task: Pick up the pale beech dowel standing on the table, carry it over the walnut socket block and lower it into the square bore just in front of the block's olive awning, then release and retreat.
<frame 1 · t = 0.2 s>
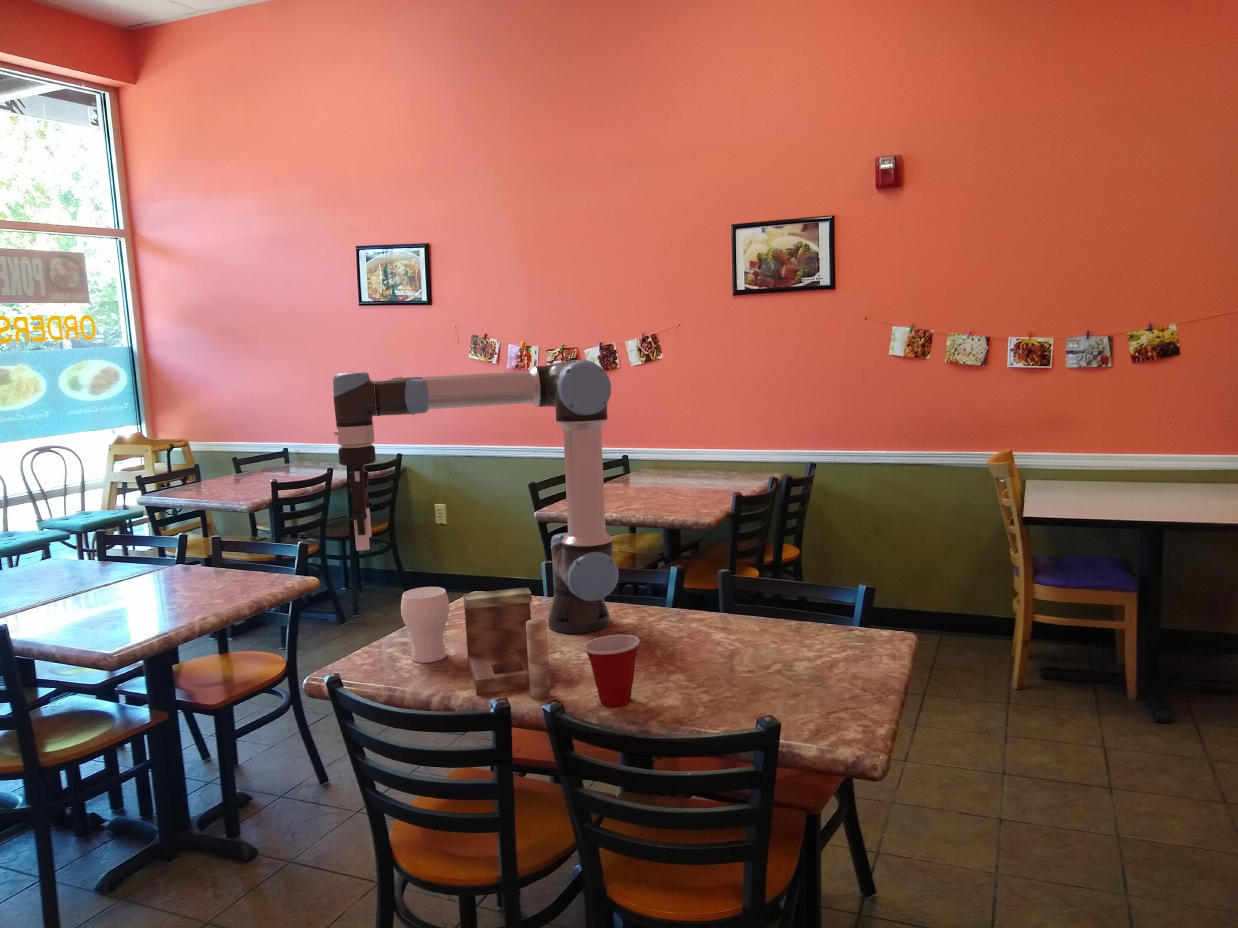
hand: (364, 543, 198), 28 cm above the table, fingers open, 13 cm apart
peg: (540, 695, 181), on the table
cup: (428, 658, 207), on the table
plastic cup: (614, 702, 177), on the table
socket block: (505, 675, 194), on the table
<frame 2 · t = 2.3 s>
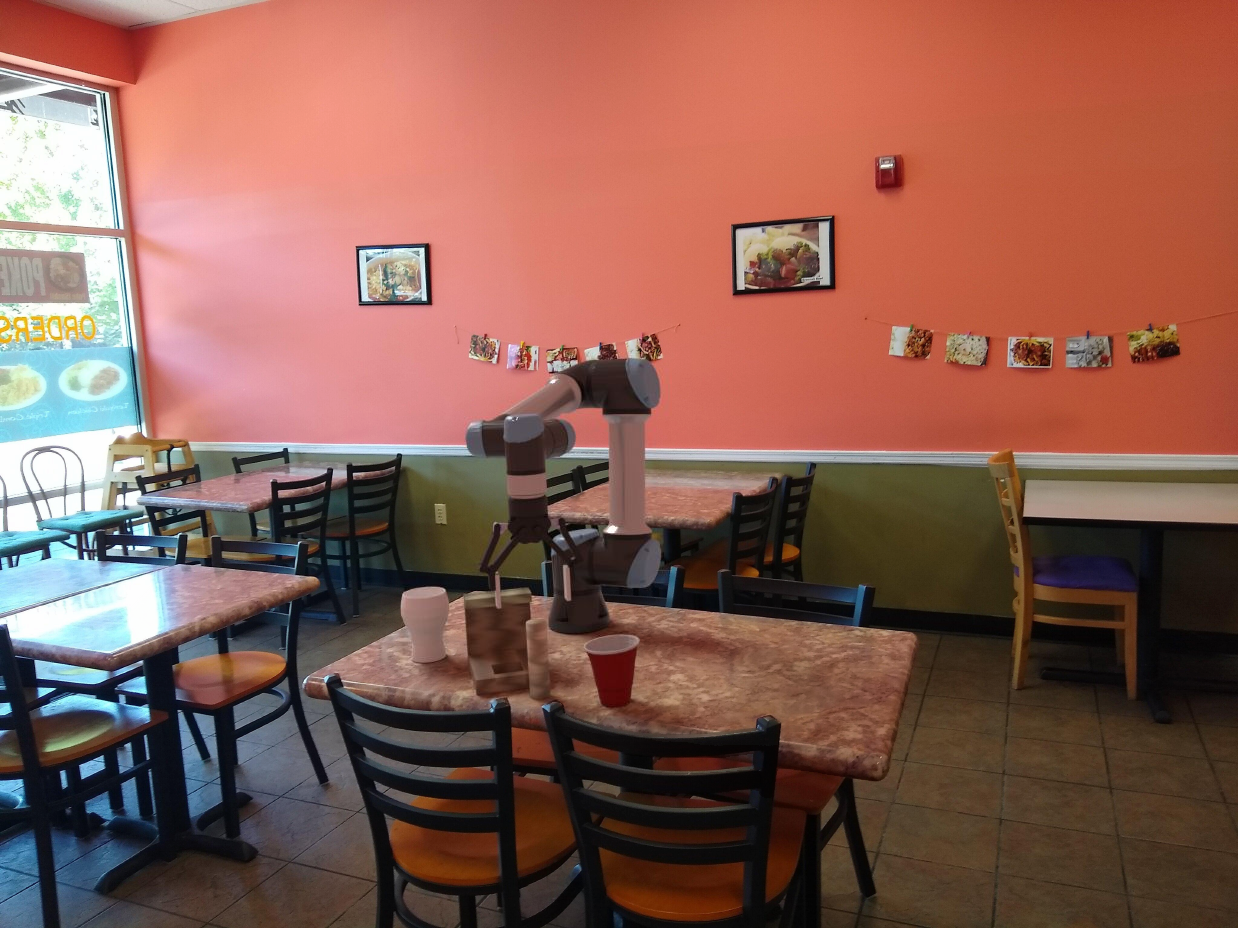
hand: (533, 602, 179), 19 cm above the table, fingers open, 13 cm apart
nothing on the table moved.
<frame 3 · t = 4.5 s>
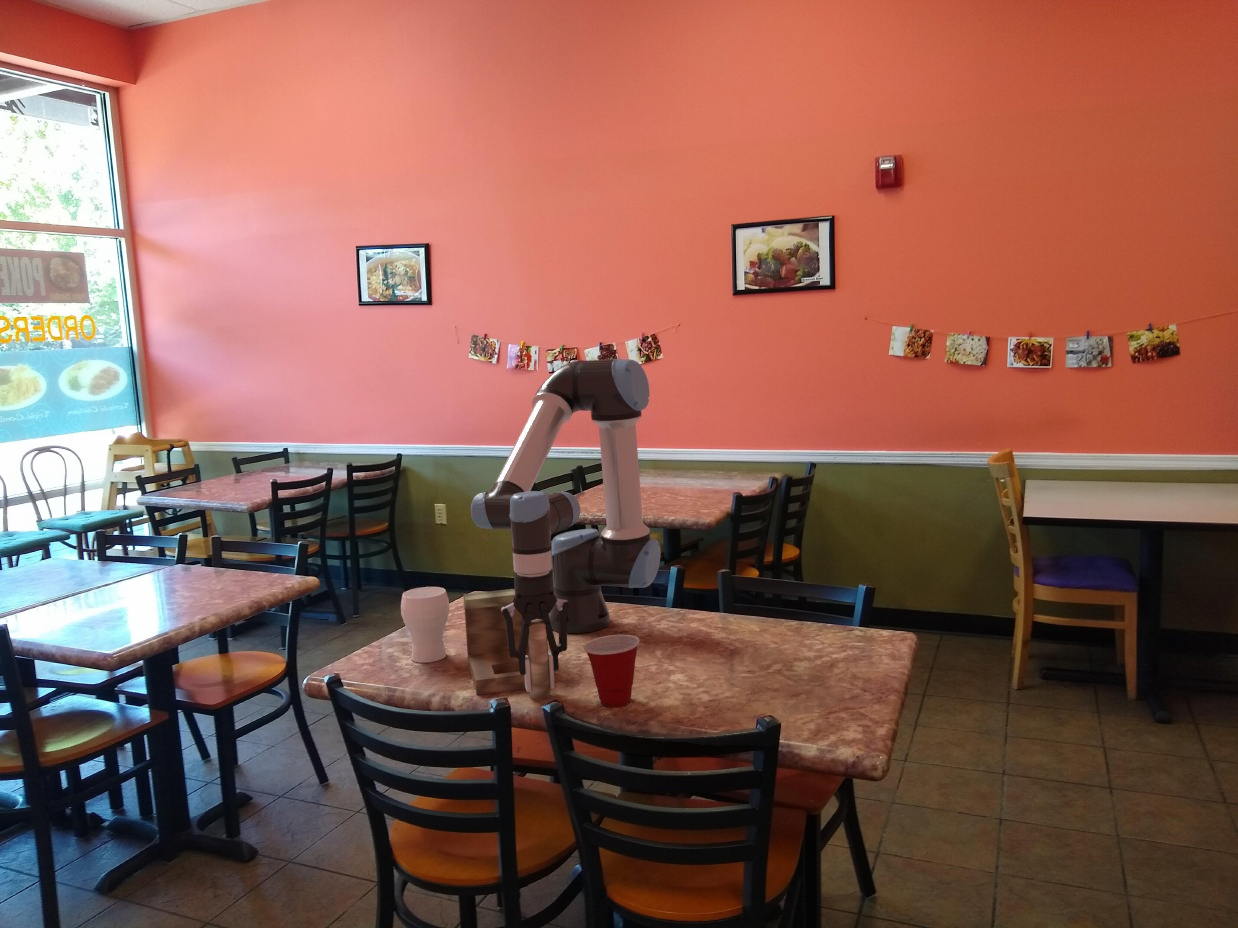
hand: (539, 687, 181), 2 cm above the table, fingers closed on peg, 4 cm apart
peg: (540, 695, 181), on the table, touching gripper
everything else where it was.
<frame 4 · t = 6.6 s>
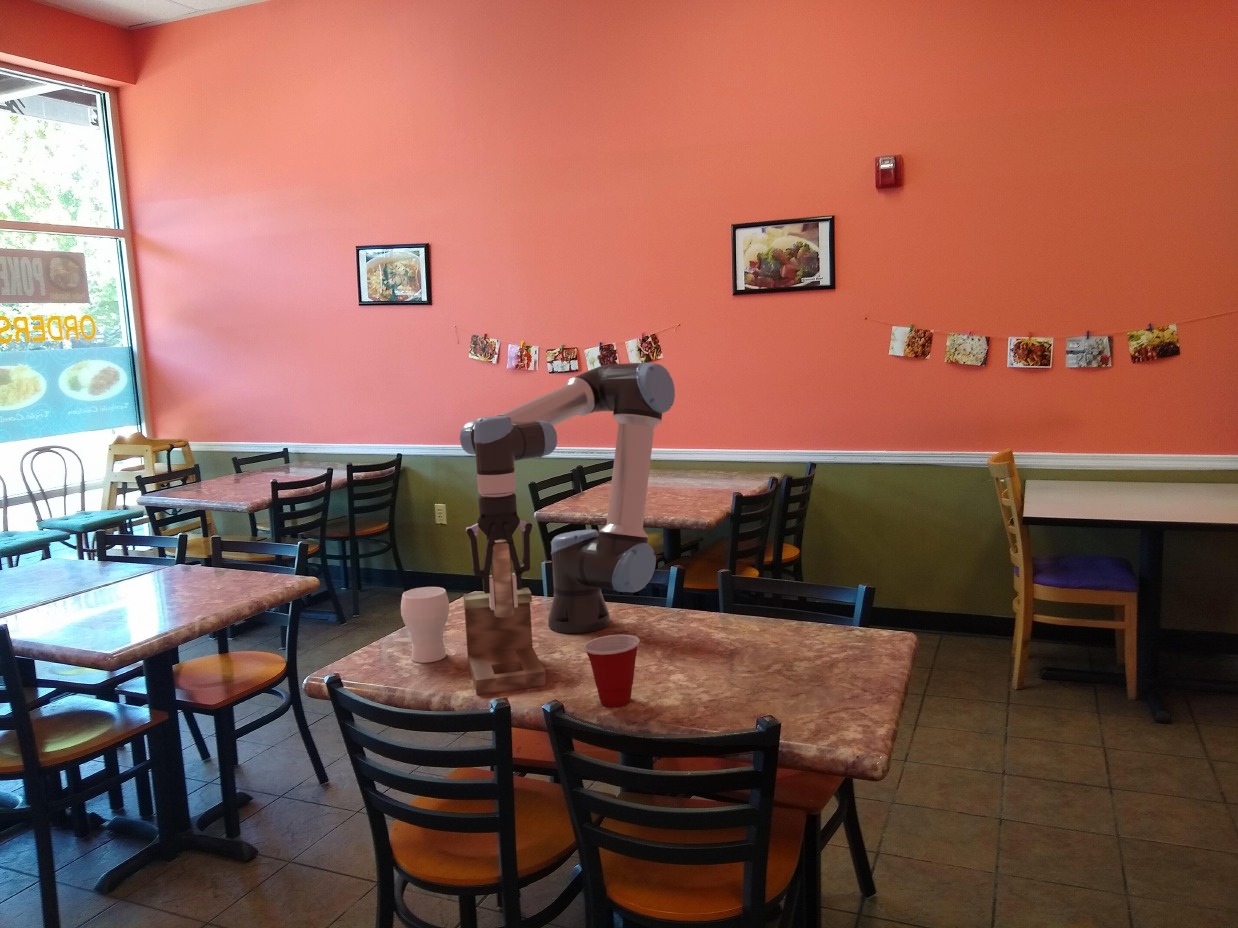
hand: (503, 606, 188), 16 cm above the table, fingers closed on peg, 4 cm apart
peg: (504, 614, 188), point 14 cm above the table, touching gripper
everything else where it was.
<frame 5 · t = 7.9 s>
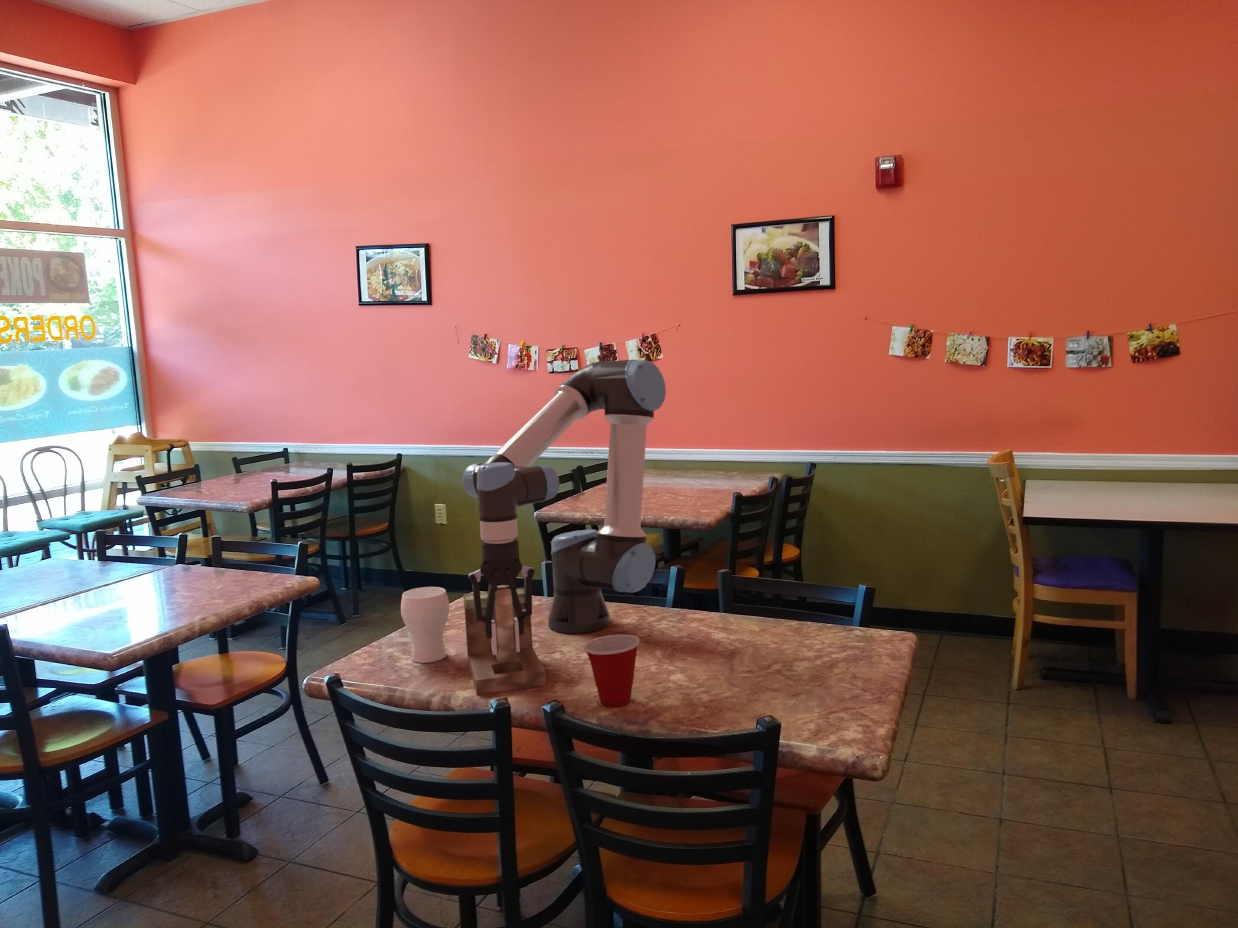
hand: (505, 651, 189), 7 cm above the table, fingers closed on peg, 4 cm apart
peg: (506, 658, 189), point 5 cm above the table, touching gripper
everything else where it was.
when the fingers open (4 cm above the table, at t = 8.6 s): peg drops 1 cm, resting in socket block.
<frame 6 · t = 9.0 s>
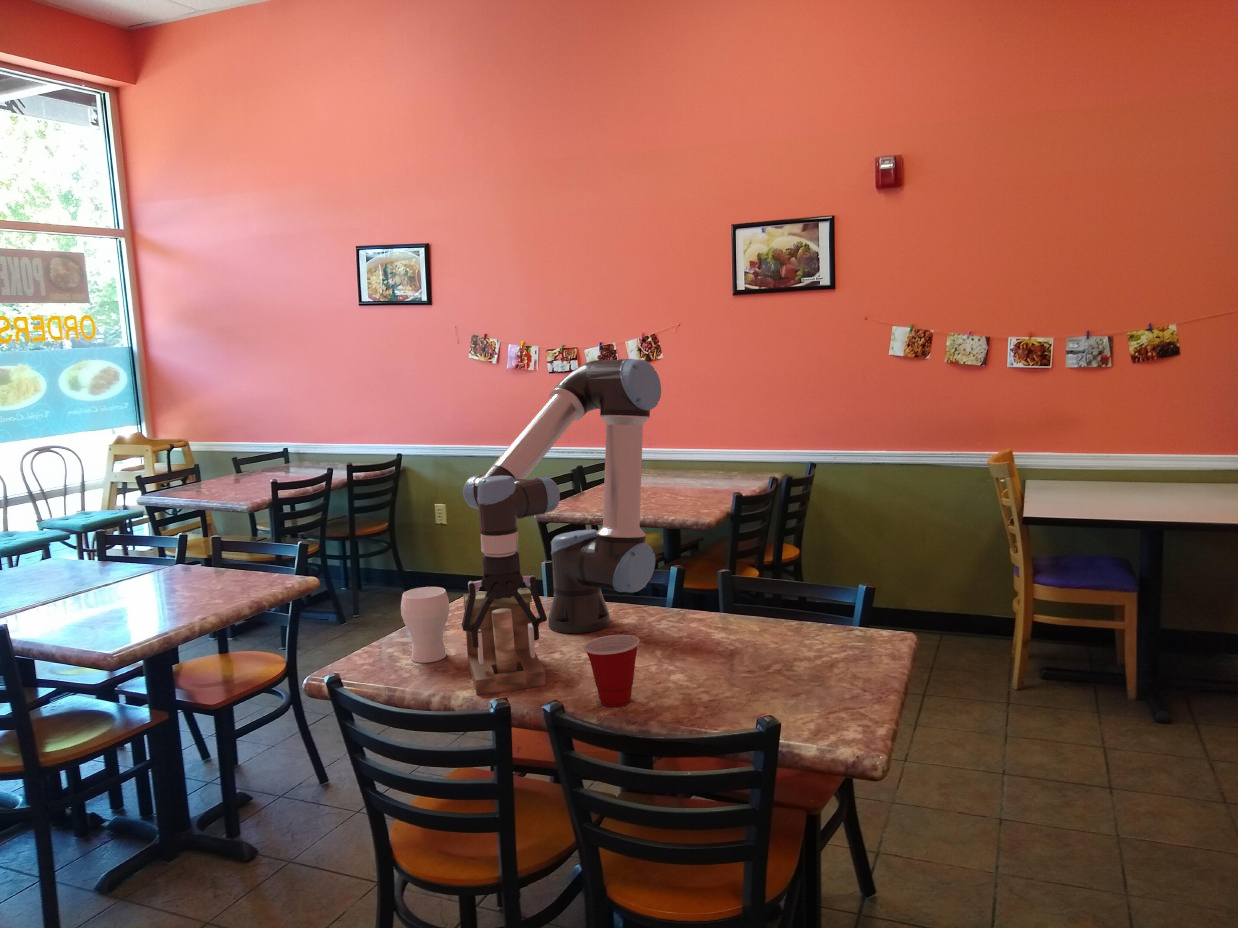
hand: (506, 658, 189), 5 cm above the table, fingers open, 10 cm apart
peg: (507, 681, 190), resting in socket block
everything else where it was.
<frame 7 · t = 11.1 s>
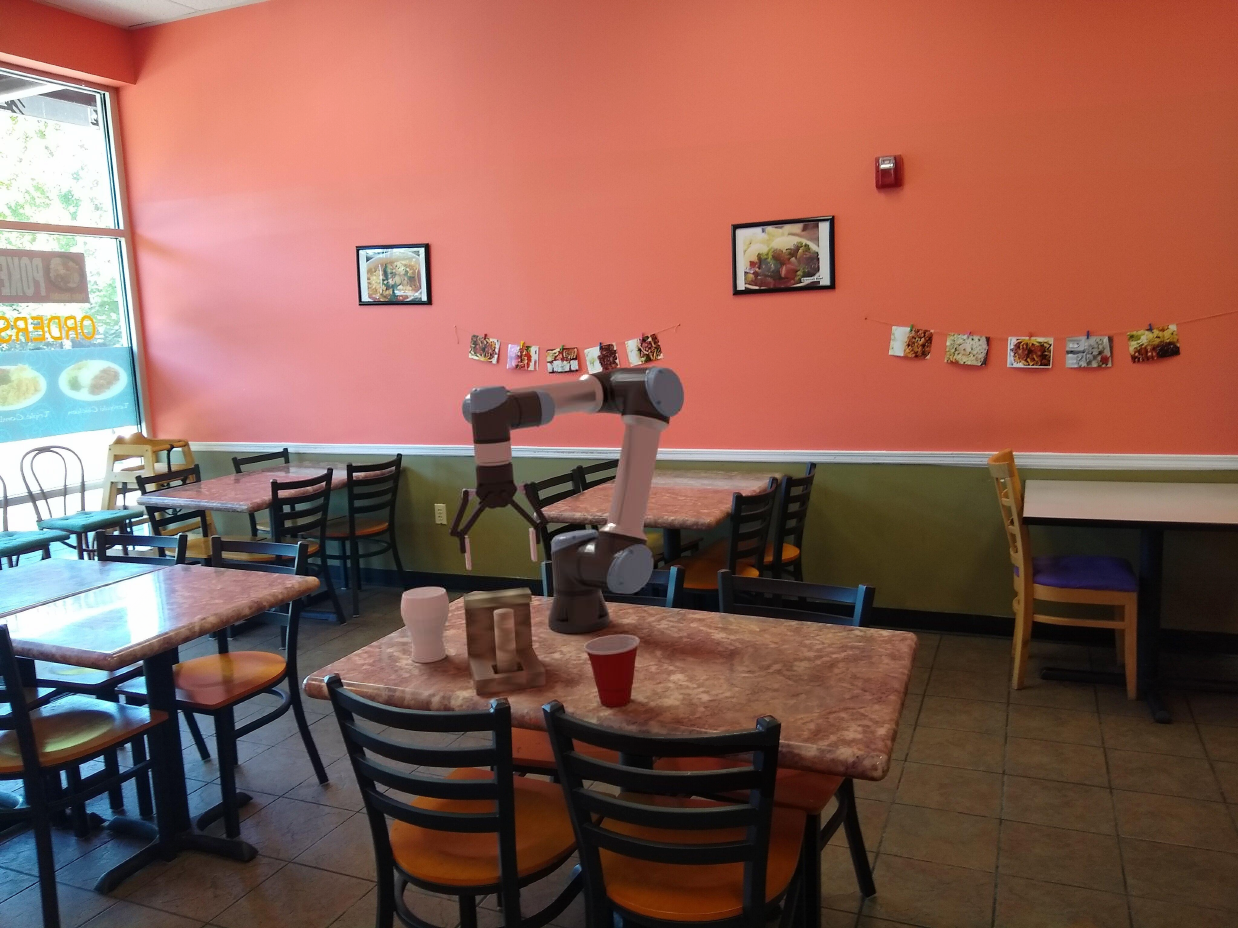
hand: (502, 564, 190), 24 cm above the table, fingers open, 13 cm apart
nothing on the table moved.
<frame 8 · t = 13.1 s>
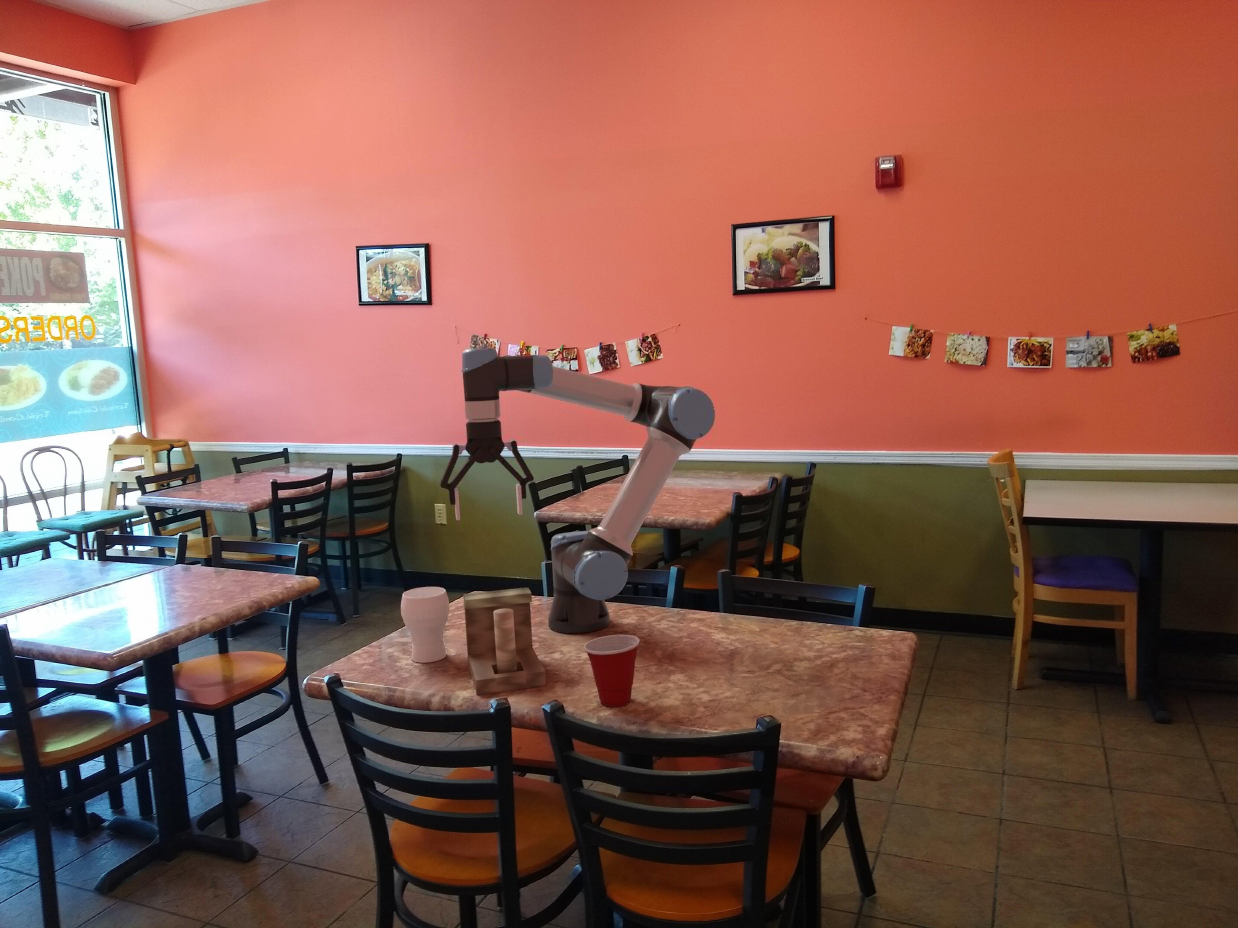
hand: (489, 516, 202), 32 cm above the table, fingers open, 13 cm apart
nothing on the table moved.
at the end: peg 0.1 cm from the target spot on the socket block, point 0.0 cm above the socket block's base; peg tilted 0°; the gripper is holding nothing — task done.
